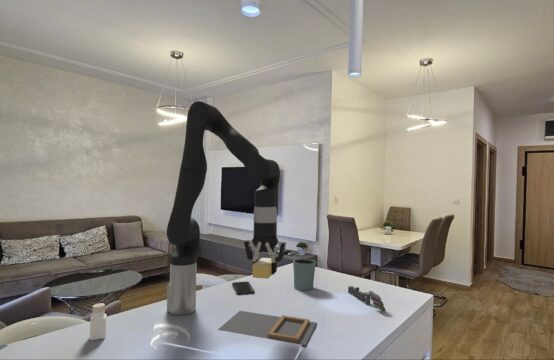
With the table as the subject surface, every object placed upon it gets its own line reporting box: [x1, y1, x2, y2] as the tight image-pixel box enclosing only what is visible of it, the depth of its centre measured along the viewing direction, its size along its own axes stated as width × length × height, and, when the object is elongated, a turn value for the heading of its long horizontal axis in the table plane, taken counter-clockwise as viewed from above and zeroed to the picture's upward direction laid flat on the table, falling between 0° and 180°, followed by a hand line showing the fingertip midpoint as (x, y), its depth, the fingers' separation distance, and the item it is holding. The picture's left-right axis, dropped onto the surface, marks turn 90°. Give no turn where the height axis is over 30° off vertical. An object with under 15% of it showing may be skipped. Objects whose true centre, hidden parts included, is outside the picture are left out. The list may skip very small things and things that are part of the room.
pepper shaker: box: [89, 302, 108, 341], centre depth 95 cm, size 4×4×10 cm
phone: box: [231, 281, 256, 296], centre depth 141 cm, size 8×1×15 cm
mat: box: [217, 310, 317, 348], centre depth 103 cm, size 28×16×2 cm, turn 71°
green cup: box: [292, 258, 317, 292], centre depth 144 cm, size 10×10×12 cm
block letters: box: [347, 285, 387, 313], centre depth 126 cm, size 25×2×6 cm, turn 16°
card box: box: [252, 257, 273, 280], centre depth 104 cm, size 10×5×4 cm, turn 166°
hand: (264, 273), depth 104 cm, fingers closed on card box, 5 cm apart
